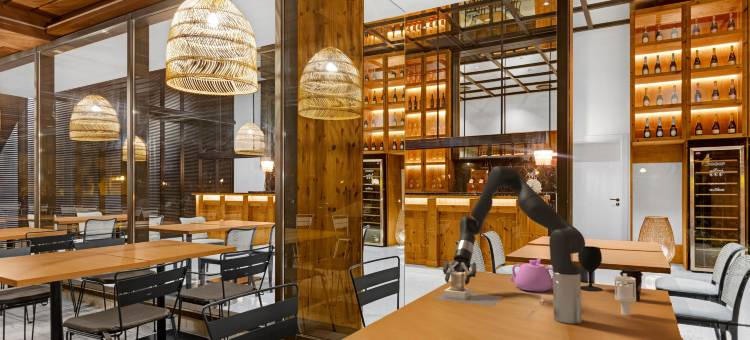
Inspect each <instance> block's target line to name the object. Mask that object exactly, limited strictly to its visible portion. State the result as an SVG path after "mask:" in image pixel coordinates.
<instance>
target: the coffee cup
mask: <svg viewBox="0 0 750 340" xmlns="http://www.w3.org/2000/svg"><path fill="white" fill-rule="evenodd" d="M619 274H620V275H619V276H623V274H627V277H632V278H635V279H636V302H639V301H641V293H642V286H643V285H642V283H643V280H642V276H644V274H643V273H642V271H641V270H640V269H638V268H637V269H636V268H633V267H632V268H622V269H621V271H620V272H619ZM622 283H623V282H622ZM627 284H629V285H630V284H633V290H634V283H627ZM627 284H623V285H627ZM623 285H621V286H623Z"/></svg>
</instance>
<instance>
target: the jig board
mask: <svg viewBox="0 0 750 340" xmlns="http://www.w3.org/2000/svg"><path fill="white" fill-rule="evenodd" d="M503 297H504V296H502V295H501V296H500V295H491V294H483V293H475V292H473V293H472V289H471V288H468V287H464V291H463V292H461V291H451V286H449V287H447V288H445V289H444V290H443V292H442V293H441V294H440V295H438V296H436V297H434V300H439V301H446V302H447V301H448V302H456V303H462V304H463V303H465V304H471V305H480V306H490V307H491V306H492V307H494V306H495V305H496V304H498V302H499V301H500V300H502V298H503Z"/></svg>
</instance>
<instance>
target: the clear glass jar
mask: <svg viewBox="0 0 750 340" xmlns="http://www.w3.org/2000/svg"><path fill="white" fill-rule="evenodd" d="M622 282H623V283H622ZM627 283H634V290H633V284H630V285H629V284H627ZM623 284H627V285H623ZM622 285H623V286H622ZM614 299H615V300H616V301H619V302H620V312H621V313H620V314H621V315H623V316H628V315H629V316H631V303H634V302H635V303H636V302H637V301H636V279H635V278H632V277H627V274H623V276H621V275H617V276H616V275H615V276H614Z"/></svg>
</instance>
